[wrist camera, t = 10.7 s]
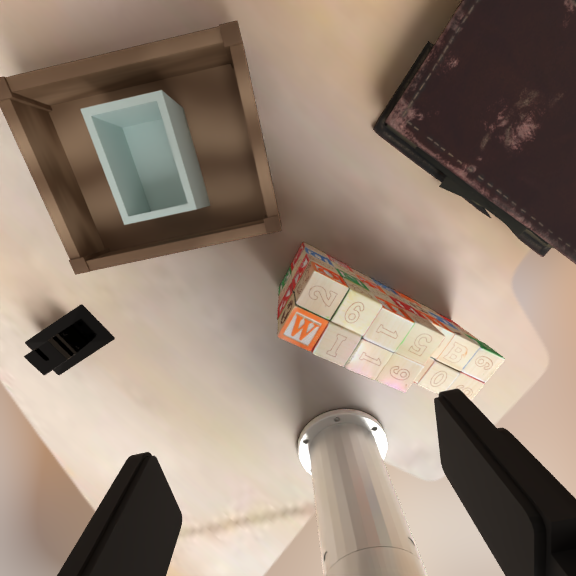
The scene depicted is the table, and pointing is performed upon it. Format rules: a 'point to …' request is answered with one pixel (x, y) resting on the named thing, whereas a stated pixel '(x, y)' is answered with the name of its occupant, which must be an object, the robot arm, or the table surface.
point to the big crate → (203, 128)
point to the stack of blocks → (377, 329)
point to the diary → (498, 115)
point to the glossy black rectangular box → (67, 341)
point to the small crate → (147, 156)
